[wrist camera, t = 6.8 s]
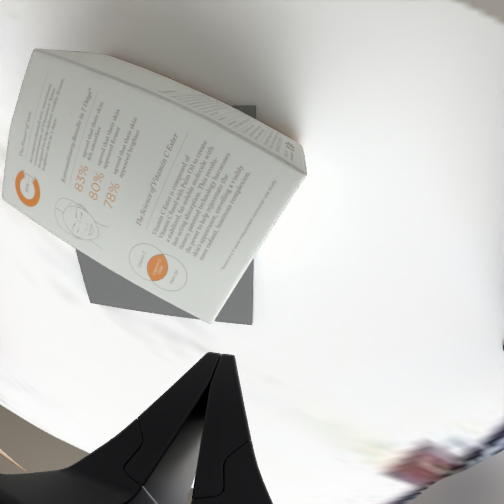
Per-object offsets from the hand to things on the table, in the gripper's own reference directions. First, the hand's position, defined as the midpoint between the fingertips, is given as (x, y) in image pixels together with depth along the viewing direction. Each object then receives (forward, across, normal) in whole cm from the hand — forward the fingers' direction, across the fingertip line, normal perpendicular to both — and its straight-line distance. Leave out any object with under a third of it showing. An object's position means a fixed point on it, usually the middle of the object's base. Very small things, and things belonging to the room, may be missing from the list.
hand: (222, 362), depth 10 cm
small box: (+7, -1, -1) cm, 7 cm away
